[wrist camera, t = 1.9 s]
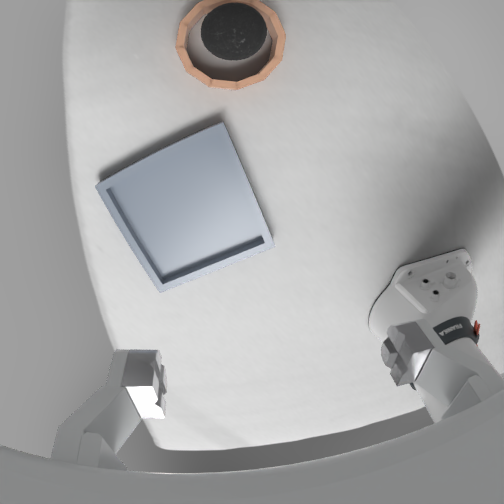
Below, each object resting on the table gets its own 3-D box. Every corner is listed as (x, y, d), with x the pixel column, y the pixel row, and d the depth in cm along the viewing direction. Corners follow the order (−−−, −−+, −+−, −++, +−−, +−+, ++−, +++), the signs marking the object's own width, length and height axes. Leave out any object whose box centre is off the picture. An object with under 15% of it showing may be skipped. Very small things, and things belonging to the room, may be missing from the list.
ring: (257, -9, 25) (261, -18, 22) (292, 70, 30) (299, 68, 27) (165, 23, 26) (161, 17, 23) (202, 104, 31) (201, 104, 28)
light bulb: (265, 52, 29) (285, 37, 20) (220, 76, 29) (222, 68, 21) (239, 13, 26) (249, -16, 17) (193, 36, 27) (186, 14, 18)
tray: (222, 120, 32) (223, 122, 30) (272, 240, 40) (275, 246, 38) (99, 181, 33) (94, 186, 32) (161, 285, 41) (159, 292, 39)
